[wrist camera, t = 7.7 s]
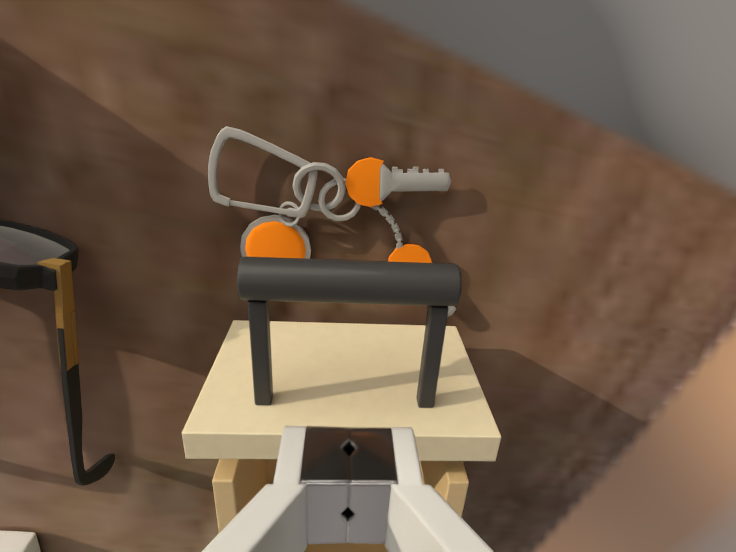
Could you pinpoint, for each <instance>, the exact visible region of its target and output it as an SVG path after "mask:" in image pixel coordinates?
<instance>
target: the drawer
mask: <svg viewBox="0 0 736 552" xmlns="http://www.w3.org/2000/svg"><path fill="white" fill-rule="evenodd" d="M237 291H238V295H239V298H240V299H242V300H249V301H248V314H249V321H241V320H234V321H233V322H232V325H231V327H230V329H229V331H228V333H227V335H226V338H225V340H224V342H223V344H222V346H221V349H220V351H219V353H218V355H217V357H216V359H215V362H214V364H213V366H212V368H211V370H210V373H209V375H208V377H207V379H206V381H205V383H204V386H203V388H202V390H201V392H200V394H199V397H198V399H197V401H196V403H195V405H194V407H193V410H192V412H191V414H190V416H189V418H188V421H187V423H186V425H185V427H184V429H183V431H182V438H183V444H184V450H185V456H186V458H187V459H219V462H218V465H217V468H216V471H215V474H214V477H213V480H212V483H213V491H214V498H215V506H216V513H217V521H218V528H219V533H220V532H221V531H222V530H223V529H224V528H225V527H226V526H227V525H228V524H229V523H230V522H231V520H232V519H233V518H234V517H235V516H236V515H237V514H238V513H239V512H240V511H241V510H242V509H243V508H244V507H245V506H246V505H247V504H248V503H249V502H250V501H251V500H252V499H253V498H254V497H255V496H256V494H257V493H258V492H259V491H260V490H261V489H262V488H263V487H264V486H265V485H266V484H273V482H274V476H275V471H276V465H277V460H278V454H279V449H280V443H281V438H282V432H283V429H284V427H285V425H288V426H327V427H390V428H391V427H412V429H413V430H414V435H415V440H416V446H417V451H418V456H419V461H420V467H421V472H422V477H423V482H424V485H431V486H432V487H433V488H434V489H435V490H436V491H437V492H438V493H439V494H440V495H441V496H442V498H443V499H444V500H445V501H446V502H447V503H448V504H449V505H450V506H451V507H452V508H453V509H454V510H455V511H456V512H457V513H458V514H459V515H460V516H461V518H462V513H463V508H464V504H465V499H466V494H467V490H468V485H469V481H468V477H467V474H466V470H465V467H464V463H463V461H496V457H497V453H498V449H499V445H500V441H501V435H500V432H499V430H498V427H497V425H496V423H495V420H494V418H493V415H492V413H491V411H490V408H489V406H488V403H487V401H486V398H485V396H484V394H483V391H482V389H481V386H480V384H479V381H478V379H477V377H476V374H475V372H474V369H473V367H472V365H471V362H470V360H469V357H468V355H467V352H466V350H465V348H464V345H463V343H462V340H461V338H460V335H459V333H458V331H457V328H456V326H446V323H447V317H448V310H449V308H448V306H455V305H457V304H458V302H459V299H460V294H461V273H460V269H459V266H458V265H456V264H446V263H418V262H389V261H361V260H333V259H304V258H276V257H248V256H244V257H242V258H241V259H240V262H239V265H238V270H237ZM269 301H293V302H327V303H361V304H395V305H428V311H427V319H426V325H389V324H352V323H315V322H278V321H270V314H269ZM304 552H388V551H387V549H386V547H385V544H364V543H333V544H307V548H306V550H305V551H304Z"/></svg>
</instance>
